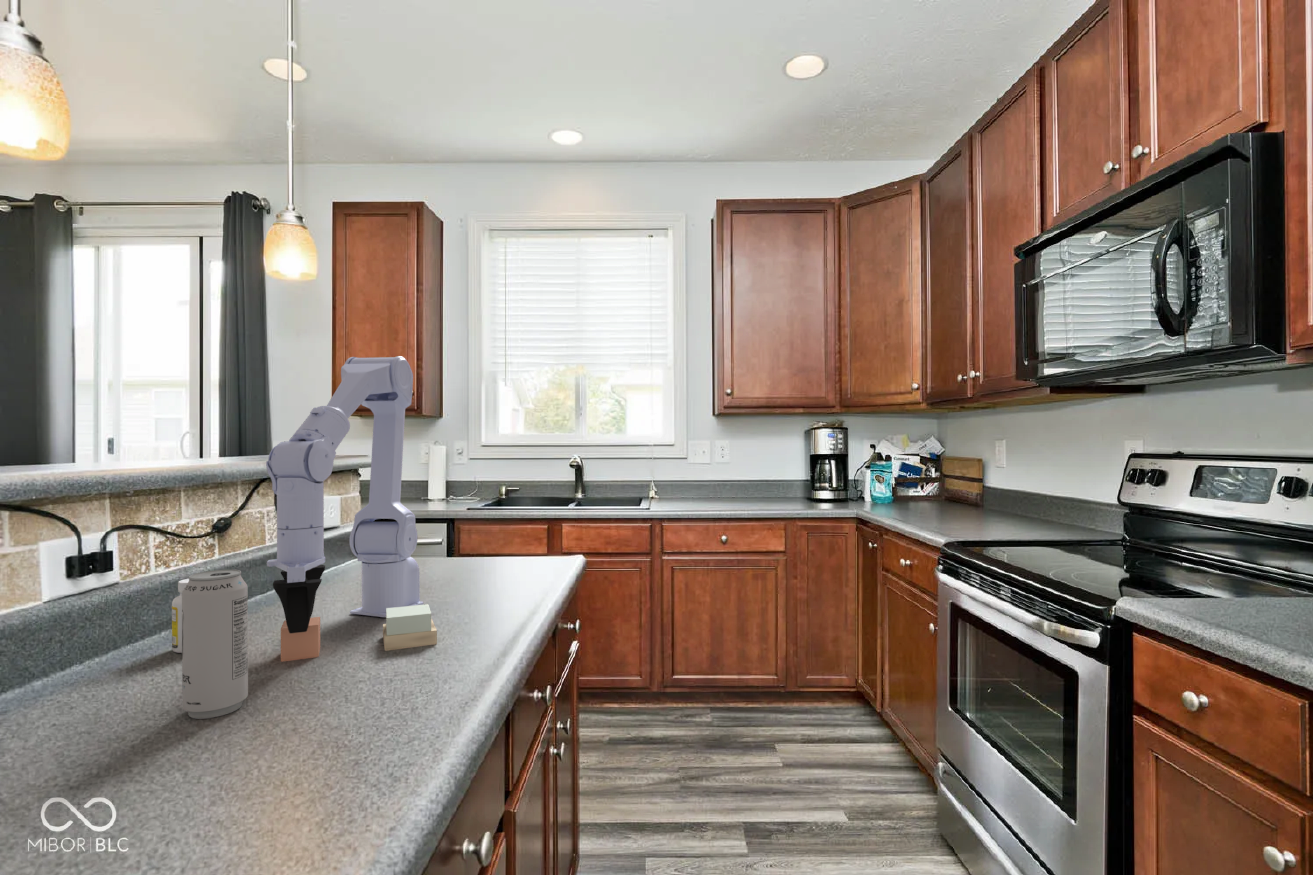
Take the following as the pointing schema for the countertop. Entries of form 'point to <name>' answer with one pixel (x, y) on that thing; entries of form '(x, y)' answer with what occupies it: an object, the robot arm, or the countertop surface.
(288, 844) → the countertop surface
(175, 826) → the countertop surface
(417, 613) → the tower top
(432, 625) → the tower base
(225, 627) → the energy drink can
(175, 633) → the supplement bottle
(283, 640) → the terracotta cube
